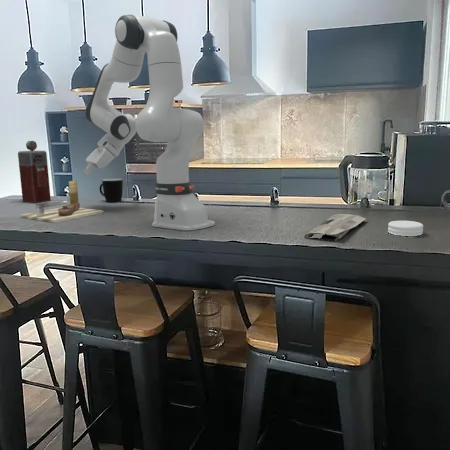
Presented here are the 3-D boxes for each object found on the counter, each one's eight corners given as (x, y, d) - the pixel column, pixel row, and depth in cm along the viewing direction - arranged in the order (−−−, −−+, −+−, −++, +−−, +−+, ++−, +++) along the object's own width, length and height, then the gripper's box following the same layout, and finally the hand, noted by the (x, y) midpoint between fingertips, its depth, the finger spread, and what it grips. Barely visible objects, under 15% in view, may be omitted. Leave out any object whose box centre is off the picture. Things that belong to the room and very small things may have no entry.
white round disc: (427, 234, 144) (428, 222, 144) (415, 239, 137) (416, 228, 136) (395, 229, 151) (396, 218, 150) (382, 235, 144) (382, 223, 143)
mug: (127, 200, 220) (126, 178, 218) (115, 203, 212) (114, 180, 210) (107, 199, 225) (105, 178, 223) (94, 202, 217) (92, 180, 215)
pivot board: (103, 212, 188) (103, 210, 188) (54, 222, 170) (53, 220, 170) (69, 208, 200) (68, 206, 200) (19, 217, 181) (19, 214, 181)
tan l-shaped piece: (70, 214, 177) (67, 185, 175) (56, 215, 177) (54, 185, 175) (82, 207, 193) (80, 180, 191) (70, 207, 193) (67, 181, 191)
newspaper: (332, 219, 170) (332, 210, 169) (367, 222, 165) (368, 212, 164) (302, 241, 139) (303, 229, 138) (345, 245, 134) (346, 232, 133)
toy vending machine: (38, 203, 215) (32, 141, 210) (22, 202, 221) (16, 141, 215) (54, 200, 223) (49, 140, 217) (38, 199, 228) (33, 140, 223)
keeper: (74, 214, 181) (73, 200, 180) (52, 218, 173) (51, 204, 172) (58, 211, 186) (57, 198, 185) (36, 215, 178) (35, 202, 177)
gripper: (96, 141, 202) (74, 166, 199) (108, 143, 184) (84, 169, 181) (107, 152, 205) (85, 176, 202) (120, 154, 187) (97, 180, 184)
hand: (85, 173), depth 192 cm, fingers closed
